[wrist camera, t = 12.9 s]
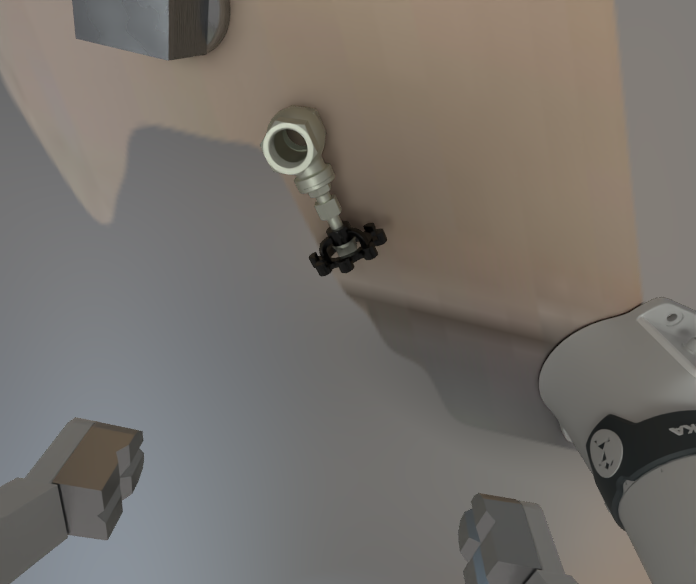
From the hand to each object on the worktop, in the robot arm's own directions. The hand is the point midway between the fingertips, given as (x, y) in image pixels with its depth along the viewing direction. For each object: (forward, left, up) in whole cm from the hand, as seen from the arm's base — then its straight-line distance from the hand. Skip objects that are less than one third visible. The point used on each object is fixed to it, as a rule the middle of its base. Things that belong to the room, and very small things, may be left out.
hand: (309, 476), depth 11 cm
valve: (+2, +2, -30) cm, 30 cm away
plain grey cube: (+14, -8, -26) cm, 31 cm away
